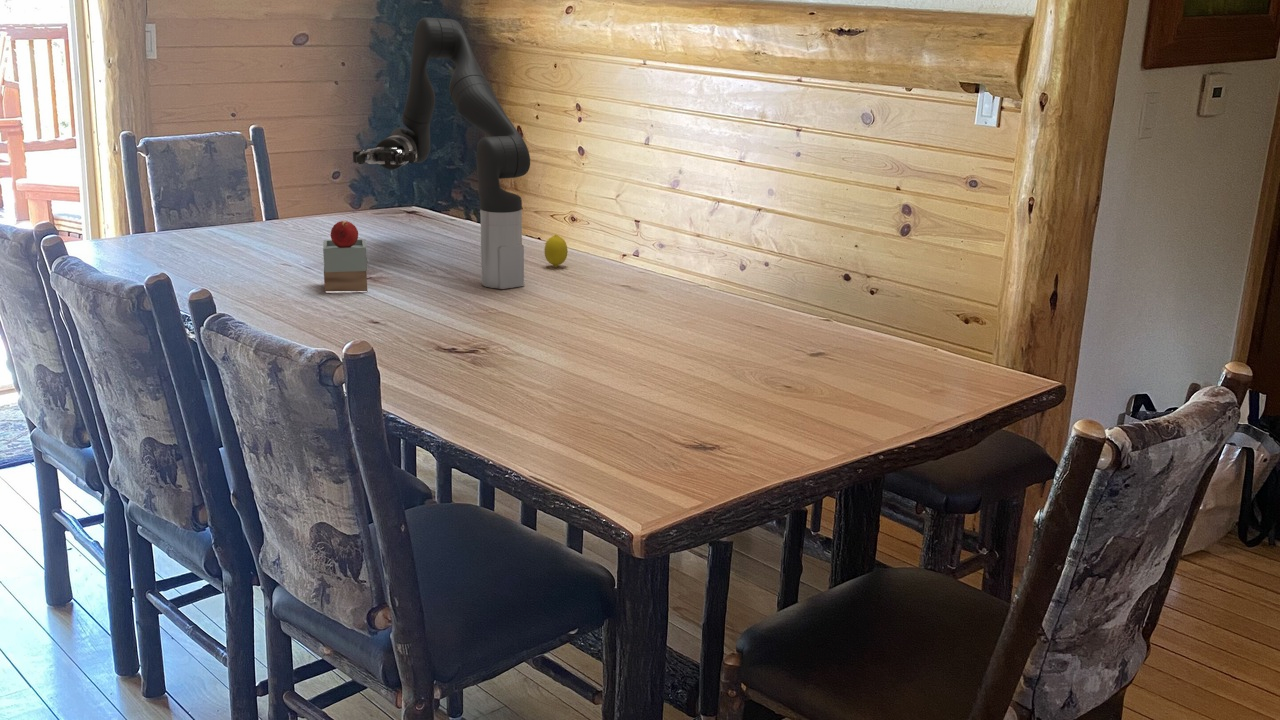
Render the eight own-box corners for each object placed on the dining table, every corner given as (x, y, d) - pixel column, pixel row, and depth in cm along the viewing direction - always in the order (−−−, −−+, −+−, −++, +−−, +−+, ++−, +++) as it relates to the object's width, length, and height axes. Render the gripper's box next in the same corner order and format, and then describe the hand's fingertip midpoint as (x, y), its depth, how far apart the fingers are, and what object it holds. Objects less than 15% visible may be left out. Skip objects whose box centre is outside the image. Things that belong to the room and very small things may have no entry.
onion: (350, 259, 253) (350, 236, 247) (326, 250, 253) (325, 226, 247) (362, 241, 257) (362, 217, 250) (338, 231, 257) (337, 208, 250)
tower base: (367, 293, 255) (366, 270, 253) (325, 294, 253) (323, 272, 251) (366, 283, 263) (365, 261, 261) (325, 284, 261) (324, 263, 259)
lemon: (569, 265, 284) (569, 233, 282) (565, 270, 279) (565, 237, 277) (546, 264, 285) (546, 232, 283) (542, 269, 280) (542, 236, 277)
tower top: (367, 270, 253) (366, 247, 252) (324, 272, 251) (323, 248, 249) (366, 261, 262) (365, 239, 260) (324, 263, 259) (323, 240, 258)
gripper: (364, 136, 280) (346, 142, 264) (423, 136, 280) (408, 143, 264) (366, 167, 282) (348, 175, 267) (424, 168, 282) (409, 176, 266)
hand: (378, 159), depth 265 cm, fingers open, 8 cm apart
